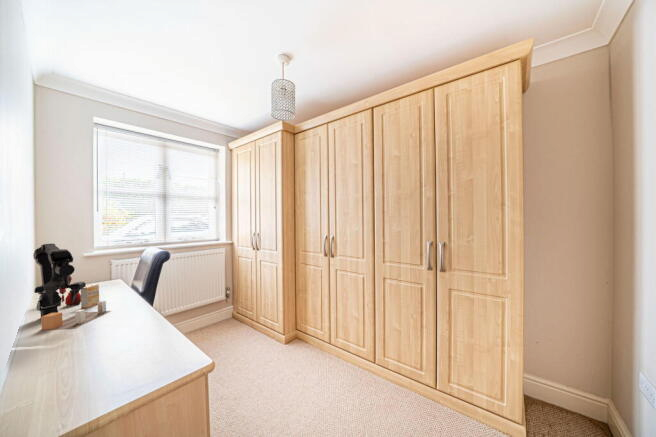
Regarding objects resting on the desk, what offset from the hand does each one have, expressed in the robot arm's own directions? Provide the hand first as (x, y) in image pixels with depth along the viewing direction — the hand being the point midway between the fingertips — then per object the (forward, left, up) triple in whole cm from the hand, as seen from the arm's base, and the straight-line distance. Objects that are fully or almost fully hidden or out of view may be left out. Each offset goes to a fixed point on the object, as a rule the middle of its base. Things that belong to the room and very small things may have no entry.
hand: (61, 303), depth 135 cm
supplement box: (-13, +32, -13) cm, 37 cm away
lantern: (-41, +44, -13) cm, 62 cm away
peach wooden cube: (-2, -3, -11) cm, 12 cm away
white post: (+8, +1, -12) cm, 15 cm away
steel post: (+8, +15, -12) cm, 21 cm away
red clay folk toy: (-27, +36, -13) cm, 47 cm away
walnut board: (+3, +5, -12) cm, 14 cm away
